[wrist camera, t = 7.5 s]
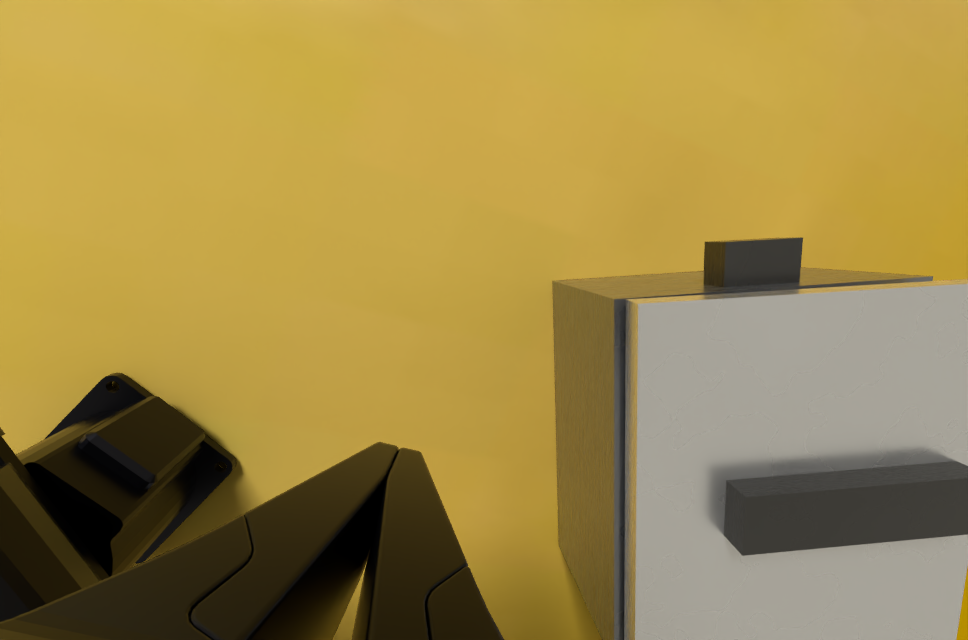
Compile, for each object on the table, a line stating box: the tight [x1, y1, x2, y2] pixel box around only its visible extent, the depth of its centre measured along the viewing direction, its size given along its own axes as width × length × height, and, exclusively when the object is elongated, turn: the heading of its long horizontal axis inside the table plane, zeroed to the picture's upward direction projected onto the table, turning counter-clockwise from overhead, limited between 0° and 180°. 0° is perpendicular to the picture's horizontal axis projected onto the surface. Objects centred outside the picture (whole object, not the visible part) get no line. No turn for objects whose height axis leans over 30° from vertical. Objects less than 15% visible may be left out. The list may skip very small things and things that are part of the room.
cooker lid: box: [624, 279, 968, 640], centre depth 15 cm, size 12×14×2 cm
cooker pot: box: [553, 238, 933, 640], centre depth 20 cm, size 12×17×7 cm
